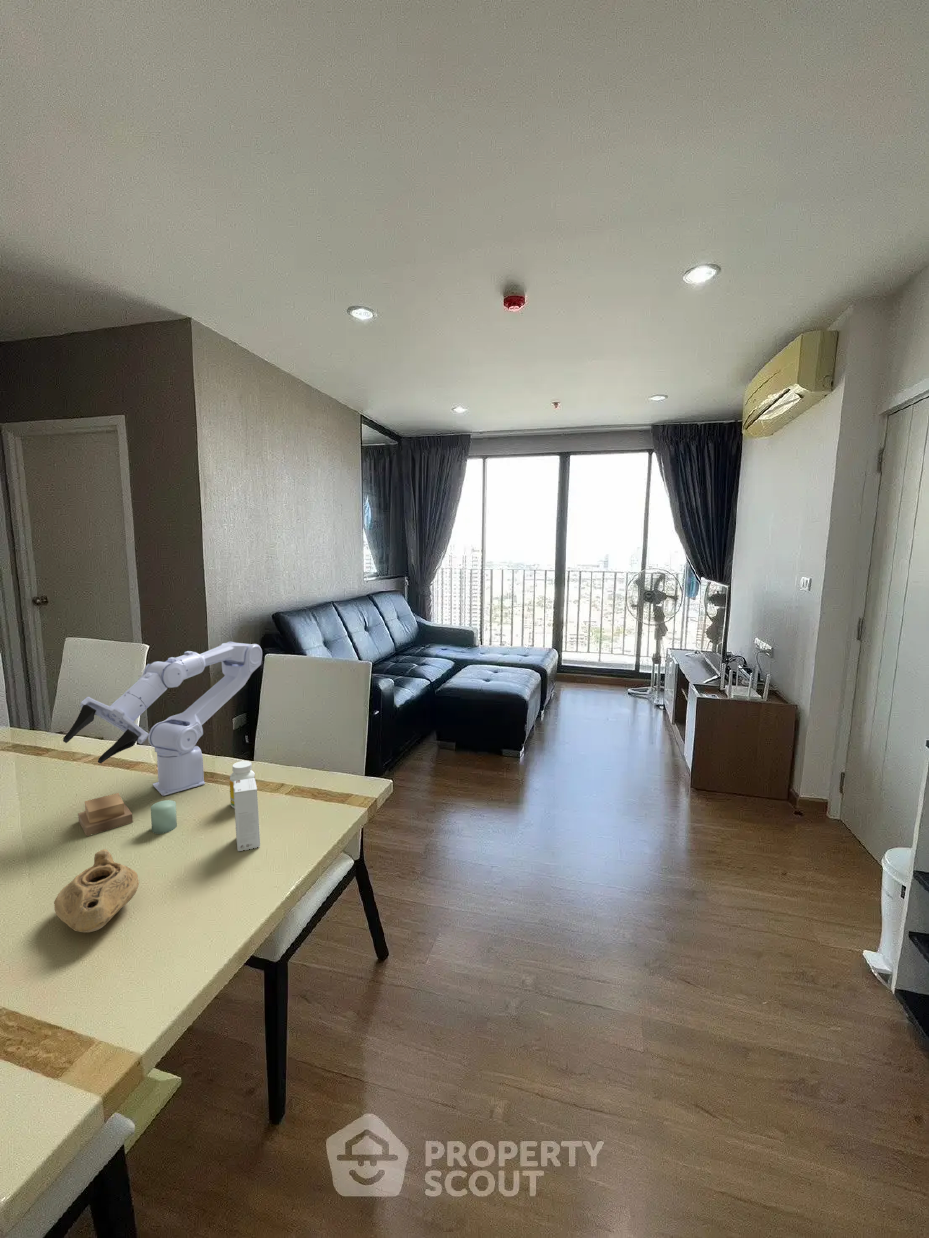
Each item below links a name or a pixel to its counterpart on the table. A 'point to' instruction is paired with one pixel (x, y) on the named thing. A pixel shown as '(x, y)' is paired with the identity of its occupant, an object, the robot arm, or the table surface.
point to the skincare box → (246, 814)
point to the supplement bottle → (240, 775)
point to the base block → (104, 822)
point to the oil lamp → (96, 894)
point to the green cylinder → (163, 816)
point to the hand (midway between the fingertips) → (82, 750)
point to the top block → (104, 808)
